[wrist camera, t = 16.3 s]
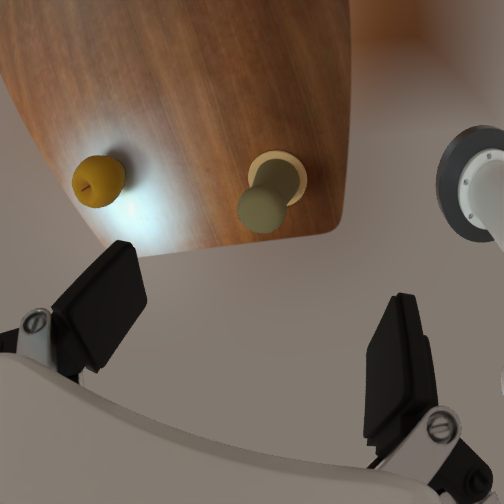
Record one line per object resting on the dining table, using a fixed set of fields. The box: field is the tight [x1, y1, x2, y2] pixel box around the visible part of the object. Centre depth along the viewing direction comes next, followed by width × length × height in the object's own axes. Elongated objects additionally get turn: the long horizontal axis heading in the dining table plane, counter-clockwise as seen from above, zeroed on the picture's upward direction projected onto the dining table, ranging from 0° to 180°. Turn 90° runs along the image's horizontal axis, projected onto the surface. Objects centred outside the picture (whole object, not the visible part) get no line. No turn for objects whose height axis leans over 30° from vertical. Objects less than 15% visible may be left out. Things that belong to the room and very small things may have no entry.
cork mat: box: [248, 150, 307, 206], centre depth 39 cm, size 8×8×1 cm
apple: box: [72, 155, 126, 208], centre depth 41 cm, size 9×8×9 cm
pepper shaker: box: [237, 159, 300, 233], centre depth 34 cm, size 6×6×11 cm
